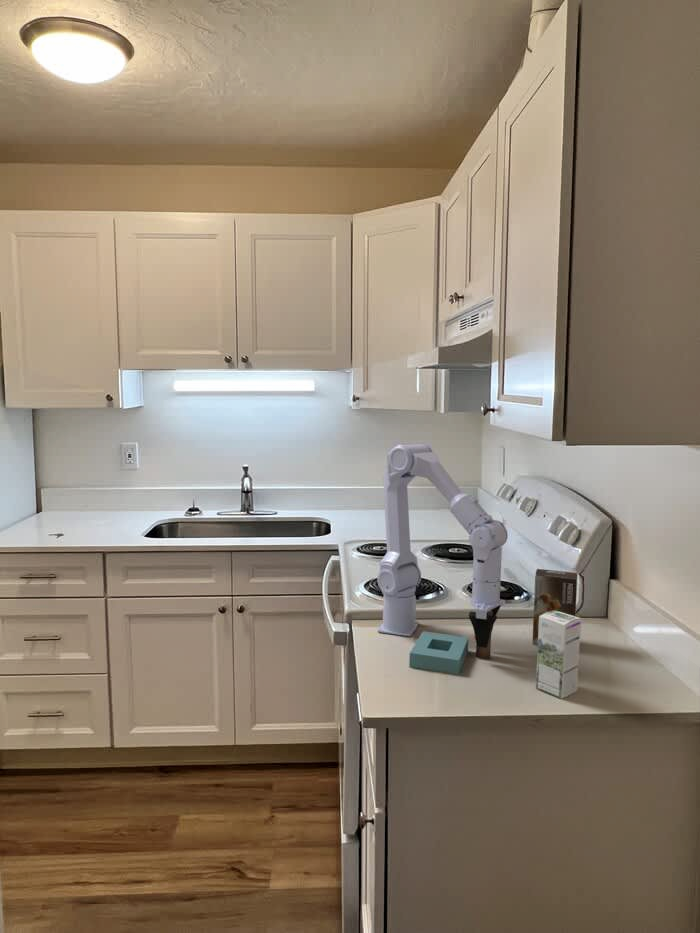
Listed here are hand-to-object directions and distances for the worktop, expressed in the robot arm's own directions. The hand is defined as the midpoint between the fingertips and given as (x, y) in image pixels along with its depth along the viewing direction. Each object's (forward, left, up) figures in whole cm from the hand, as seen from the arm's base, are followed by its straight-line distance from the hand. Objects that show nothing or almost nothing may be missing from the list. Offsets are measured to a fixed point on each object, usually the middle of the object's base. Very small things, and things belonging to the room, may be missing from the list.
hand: (483, 641), depth 136 cm
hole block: (+4, -8, -3) cm, 10 cm away
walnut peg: (0, 0, -3) cm, 3 cm away
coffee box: (-14, +14, -4) cm, 20 cm away
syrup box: (+11, +15, -4) cm, 19 cm away
